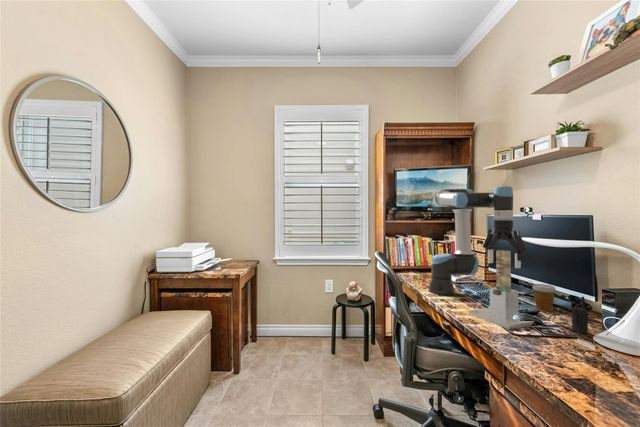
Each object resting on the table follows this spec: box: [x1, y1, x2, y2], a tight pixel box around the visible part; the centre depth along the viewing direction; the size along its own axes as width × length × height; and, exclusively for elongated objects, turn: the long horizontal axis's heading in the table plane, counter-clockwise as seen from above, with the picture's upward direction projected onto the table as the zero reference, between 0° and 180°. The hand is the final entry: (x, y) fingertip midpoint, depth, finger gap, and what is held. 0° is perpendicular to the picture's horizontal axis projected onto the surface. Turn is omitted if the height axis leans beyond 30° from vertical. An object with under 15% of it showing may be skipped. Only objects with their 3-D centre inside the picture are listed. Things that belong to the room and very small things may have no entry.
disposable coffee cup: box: [532, 283, 557, 312], centre depth 147 cm, size 10×10×12 cm
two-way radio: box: [571, 296, 589, 335], centre depth 119 cm, size 6×4×15 cm
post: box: [495, 249, 512, 291], centre depth 135 cm, size 4×4×24 cm
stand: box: [469, 286, 541, 330], centre depth 135 cm, size 20×20×14 cm
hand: (503, 265), depth 135 cm, fingers open, 13 cm apart
